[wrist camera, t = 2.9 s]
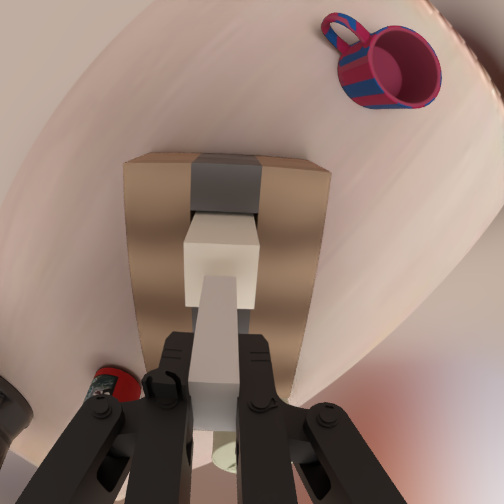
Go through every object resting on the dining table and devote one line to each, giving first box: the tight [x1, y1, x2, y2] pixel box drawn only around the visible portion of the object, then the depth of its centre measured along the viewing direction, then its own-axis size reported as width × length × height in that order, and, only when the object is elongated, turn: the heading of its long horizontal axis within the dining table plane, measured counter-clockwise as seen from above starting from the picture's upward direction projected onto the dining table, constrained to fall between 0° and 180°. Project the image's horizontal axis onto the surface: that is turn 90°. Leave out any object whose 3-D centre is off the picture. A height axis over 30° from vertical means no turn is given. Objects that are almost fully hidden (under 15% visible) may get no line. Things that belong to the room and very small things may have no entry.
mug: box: [321, 13, 442, 109], centre depth 19 cm, size 7×10×7 cm
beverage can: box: [83, 368, 141, 404], centre depth 30 cm, size 7×7×12 cm
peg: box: [184, 210, 260, 309], centre depth 20 cm, size 4×4×7 cm
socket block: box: [123, 153, 331, 398], centre depth 27 cm, size 22×14×7 cm, turn 176°
